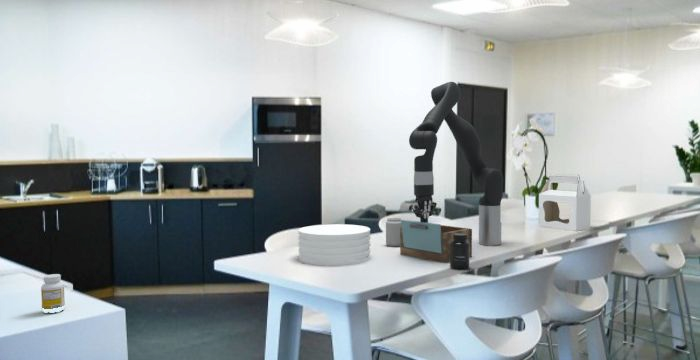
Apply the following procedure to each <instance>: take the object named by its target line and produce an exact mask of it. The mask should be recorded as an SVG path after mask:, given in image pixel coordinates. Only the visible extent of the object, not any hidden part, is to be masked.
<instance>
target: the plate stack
mask: <svg viewBox="0 0 700 360" xmlns="http://www.w3.org/2000/svg"><path fill="white" fill-rule="evenodd" d="M370 234H371V228H370V227H368V226H365V225H357V224H346V223H345V224H344V223H337V224H336V223H335V224H333V223H331V224H314V225H309V226H303V227H300V228H298V236H297V237H298V241H299V242H298V247H299V249H298V254H299V255H298V260H299V261H300V262H301V261H302V263H304V262H305V264H308V263H310V264H309V265H314V264H317V266H348V265H356V264H362V263H365V262H368V261H370V260H371V235H370Z"/></svg>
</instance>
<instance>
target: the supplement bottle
mask: <svg viewBox="0 0 700 360" xmlns="http://www.w3.org/2000/svg"><path fill="white" fill-rule="evenodd" d="M453 239H454V241H453V242H451V244H450V262H449V267H450V268H451V269H454V270H468V269H469V268H470V258H471V257H470V244H469V243H468V242H467V241H466V240H467V234H460V233H457V234H453Z"/></svg>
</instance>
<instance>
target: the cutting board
mask: <svg viewBox="0 0 700 360" xmlns="http://www.w3.org/2000/svg"><path fill="white" fill-rule="evenodd" d="M441 225H442V224H441V223H434V222H433V223H432V222H428V223H426V222H420V221H418V220H417V221H416V220H409V219H401V226H402V234H403V243H404V247H407V248H413V249H419V250H425V251H431V252H437V253H443V244H442V234H441Z"/></svg>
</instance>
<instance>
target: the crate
mask: <svg viewBox="0 0 700 360" xmlns="http://www.w3.org/2000/svg"><path fill="white" fill-rule="evenodd" d="M440 225H441V234H442V244H443V253H437V252H431V251H425V250H419V249H413V248H407V247H404V243H403V234H402V227H400V246H399V247H400V251H399V252H400V253H399V254H400V255H401V256H408V257H413V258H418V259H421V260H423V259H424V260H429V261H433V262H440V263H445V264H447V263H450V244H451V242H453V241H454V239H453V234H457V233H460V234H467V240H466V241H467V242H468V243H469V244H470V258H472V256H473V228H469V227H459V226H452V225H442V224H440Z"/></svg>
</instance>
